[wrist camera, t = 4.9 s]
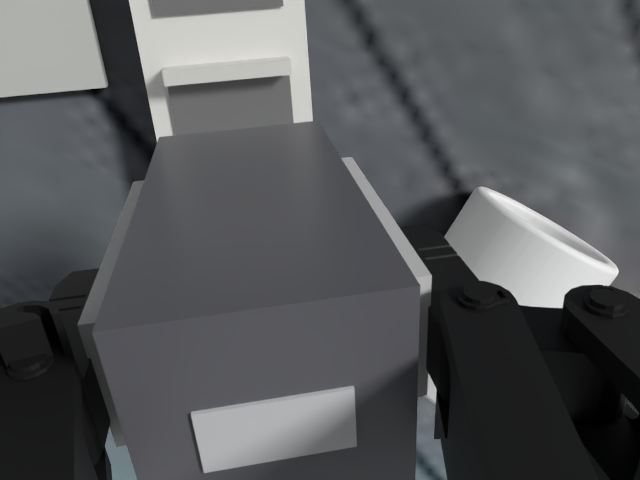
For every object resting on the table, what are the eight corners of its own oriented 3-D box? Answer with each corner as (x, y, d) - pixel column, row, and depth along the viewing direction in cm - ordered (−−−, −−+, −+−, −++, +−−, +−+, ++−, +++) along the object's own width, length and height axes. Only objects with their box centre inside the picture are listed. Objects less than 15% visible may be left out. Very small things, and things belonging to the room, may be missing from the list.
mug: (365, 312, 33) (405, 403, 26) (454, 169, 30) (526, 227, 23) (515, 369, 37) (585, 461, 30) (607, 247, 34) (709, 317, 27)
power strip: (33, -539, 17) (-10, -661, 14) (256, -530, 18) (264, -644, 15) (205, 351, 32) (203, 392, 29) (321, 332, 33) (333, 372, 30)
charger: (158, 136, 15) (91, 335, 7) (317, 120, 16) (422, 288, 8) (187, 274, 17) (157, 551, 9) (326, 256, 18) (415, 502, 10)
